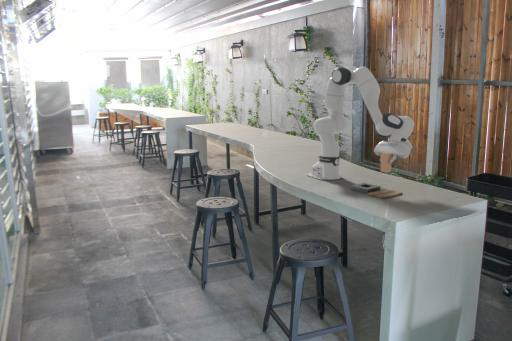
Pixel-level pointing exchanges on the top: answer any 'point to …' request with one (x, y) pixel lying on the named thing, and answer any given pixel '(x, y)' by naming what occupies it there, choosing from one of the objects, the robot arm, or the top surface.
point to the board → (385, 193)
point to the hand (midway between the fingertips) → (385, 161)
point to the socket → (365, 188)
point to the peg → (385, 162)
